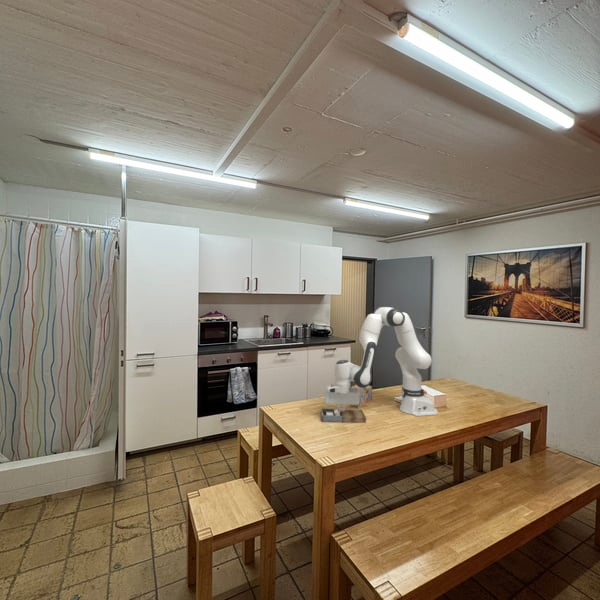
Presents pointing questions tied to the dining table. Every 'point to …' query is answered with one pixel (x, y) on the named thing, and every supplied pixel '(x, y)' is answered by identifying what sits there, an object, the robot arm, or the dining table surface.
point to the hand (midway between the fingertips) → (341, 411)
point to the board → (353, 416)
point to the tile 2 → (337, 412)
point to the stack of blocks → (363, 395)
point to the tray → (330, 418)
